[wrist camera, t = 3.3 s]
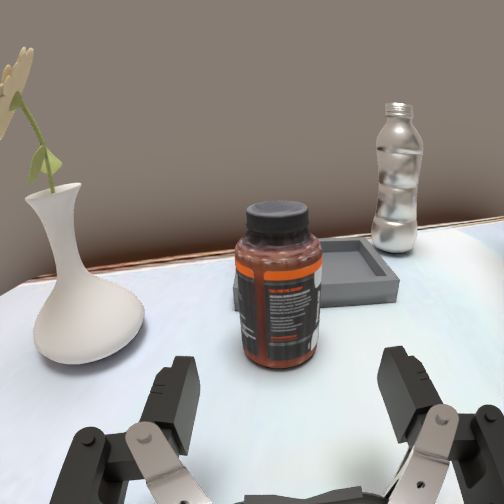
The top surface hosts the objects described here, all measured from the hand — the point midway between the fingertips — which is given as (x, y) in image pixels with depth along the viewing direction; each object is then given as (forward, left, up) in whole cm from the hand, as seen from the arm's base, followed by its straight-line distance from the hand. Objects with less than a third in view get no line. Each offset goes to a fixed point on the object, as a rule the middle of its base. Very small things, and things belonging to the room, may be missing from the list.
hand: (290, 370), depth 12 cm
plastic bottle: (-17, -29, -7) cm, 34 cm away
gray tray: (-4, -22, -7) cm, 23 cm away
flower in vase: (+17, -10, -7) cm, 21 cm away
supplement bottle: (0, -10, -7) cm, 12 cm away
